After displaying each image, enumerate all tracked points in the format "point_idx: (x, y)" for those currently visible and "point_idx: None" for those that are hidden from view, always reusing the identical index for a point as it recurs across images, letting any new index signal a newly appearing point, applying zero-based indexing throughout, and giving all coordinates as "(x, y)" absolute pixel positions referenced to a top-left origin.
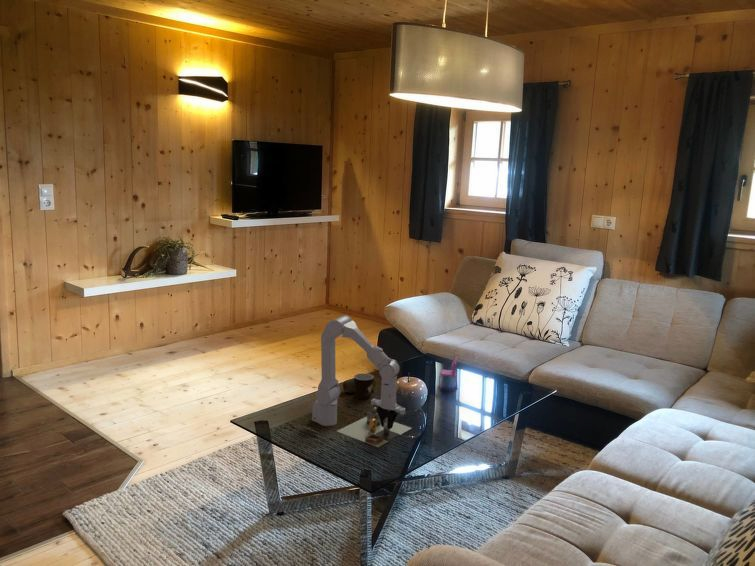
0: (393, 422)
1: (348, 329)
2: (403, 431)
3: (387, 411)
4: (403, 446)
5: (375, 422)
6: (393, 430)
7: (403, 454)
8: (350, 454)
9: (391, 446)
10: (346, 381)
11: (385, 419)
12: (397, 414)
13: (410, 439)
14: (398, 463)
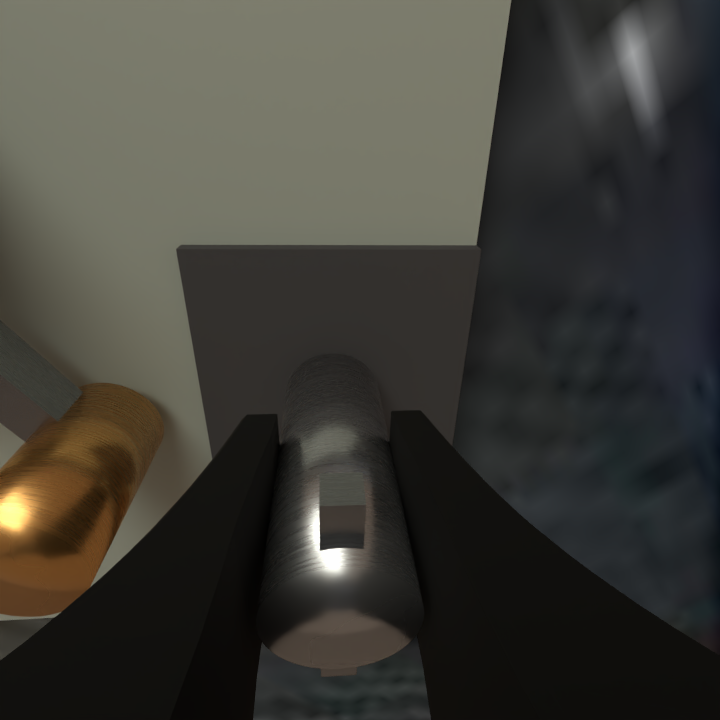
0: (468, 475)
1: None
2: (467, 64)
3: (195, 707)
4: (614, 404)
5: (106, 538)
6: (304, 163)
7: (665, 514)
8: (309, 710)
9: (500, 477)
10: None
11: (345, 662)
12: (706, 663)
13: (637, 189)
14: (668, 616)
